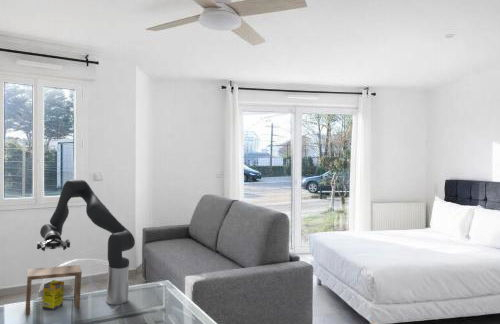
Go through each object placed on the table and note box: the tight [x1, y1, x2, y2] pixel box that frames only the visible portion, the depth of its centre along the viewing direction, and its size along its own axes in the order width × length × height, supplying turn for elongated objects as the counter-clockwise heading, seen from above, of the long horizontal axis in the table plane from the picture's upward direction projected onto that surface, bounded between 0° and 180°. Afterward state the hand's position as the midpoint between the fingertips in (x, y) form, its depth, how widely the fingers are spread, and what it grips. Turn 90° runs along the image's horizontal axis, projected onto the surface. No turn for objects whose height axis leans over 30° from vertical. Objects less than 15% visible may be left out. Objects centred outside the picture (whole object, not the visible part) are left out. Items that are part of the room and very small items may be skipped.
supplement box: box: [42, 279, 65, 311], centre depth 170 cm, size 6×6×11 cm
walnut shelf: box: [25, 264, 82, 316], centre depth 170 cm, size 21×10×16 cm, turn 120°
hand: (54, 248), depth 179 cm, fingers open, 8 cm apart
